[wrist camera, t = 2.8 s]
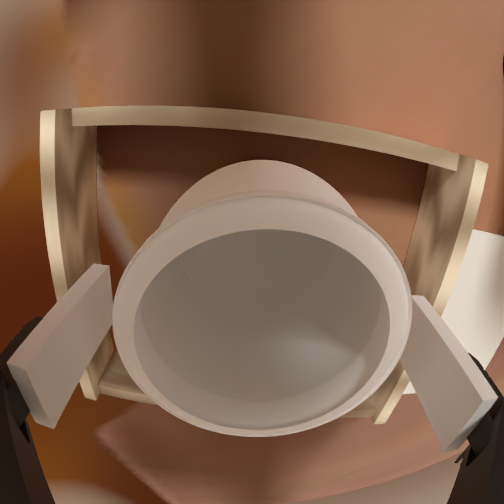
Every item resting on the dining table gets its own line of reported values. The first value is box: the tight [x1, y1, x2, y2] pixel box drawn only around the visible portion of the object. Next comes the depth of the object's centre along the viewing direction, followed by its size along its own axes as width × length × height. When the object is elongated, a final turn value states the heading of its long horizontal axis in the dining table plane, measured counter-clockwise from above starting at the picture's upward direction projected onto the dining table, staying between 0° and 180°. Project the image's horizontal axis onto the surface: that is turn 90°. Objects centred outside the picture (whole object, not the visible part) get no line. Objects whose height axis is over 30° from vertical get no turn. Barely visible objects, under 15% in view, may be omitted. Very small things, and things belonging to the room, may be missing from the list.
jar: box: [112, 160, 412, 437], centre depth 17 cm, size 11×10×15 cm
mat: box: [403, 229, 504, 394], centre depth 28 cm, size 20×16×1 cm
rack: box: [40, 106, 488, 424], centre depth 23 cm, size 24×28×6 cm
